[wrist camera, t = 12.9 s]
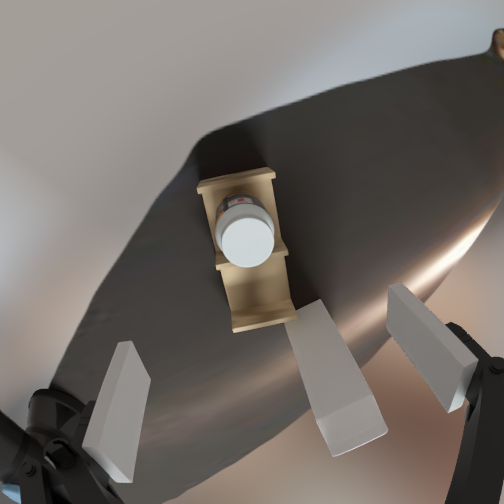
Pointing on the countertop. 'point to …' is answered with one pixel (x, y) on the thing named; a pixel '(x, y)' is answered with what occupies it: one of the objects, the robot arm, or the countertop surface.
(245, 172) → the rack
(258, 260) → the pill bottle
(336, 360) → the milk
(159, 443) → the countertop surface
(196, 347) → the countertop surface
